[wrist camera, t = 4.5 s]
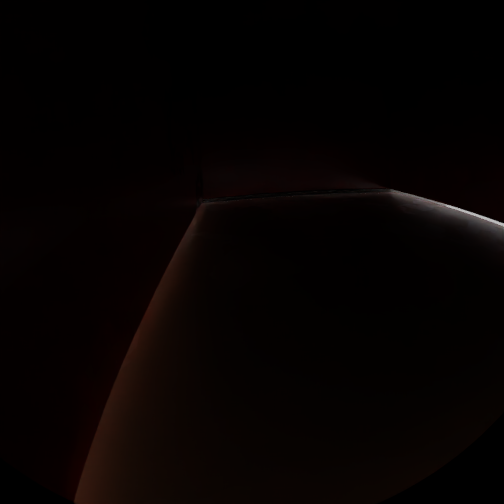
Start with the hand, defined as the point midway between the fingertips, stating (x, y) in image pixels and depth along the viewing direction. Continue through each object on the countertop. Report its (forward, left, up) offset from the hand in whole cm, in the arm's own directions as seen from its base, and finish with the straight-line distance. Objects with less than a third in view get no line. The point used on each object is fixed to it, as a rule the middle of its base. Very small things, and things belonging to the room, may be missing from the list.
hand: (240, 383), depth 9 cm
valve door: (-2, -4, -7) cm, 9 cm away
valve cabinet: (+1, -11, -8) cm, 13 cm away
